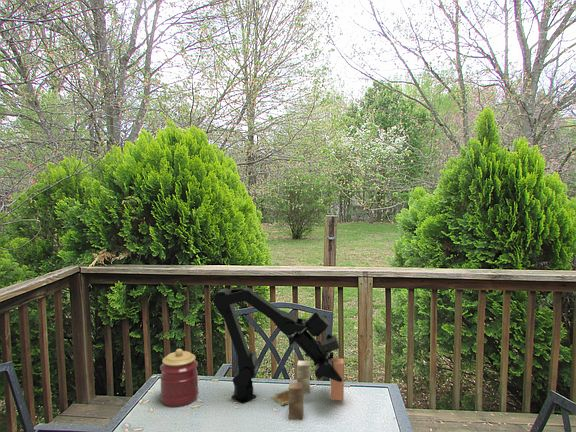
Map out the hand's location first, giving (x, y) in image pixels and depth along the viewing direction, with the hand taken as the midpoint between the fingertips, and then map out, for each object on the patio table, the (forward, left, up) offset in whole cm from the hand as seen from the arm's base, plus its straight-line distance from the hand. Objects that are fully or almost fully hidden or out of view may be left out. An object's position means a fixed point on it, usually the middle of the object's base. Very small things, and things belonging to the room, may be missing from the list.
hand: (341, 378), depth 134 cm
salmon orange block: (-1, -1, -7) cm, 7 cm away
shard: (-17, -10, -9) cm, 22 cm away
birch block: (-16, -1, -9) cm, 18 cm away
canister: (-45, -35, -9) cm, 58 cm away
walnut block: (-6, -17, -9) cm, 20 cm away
